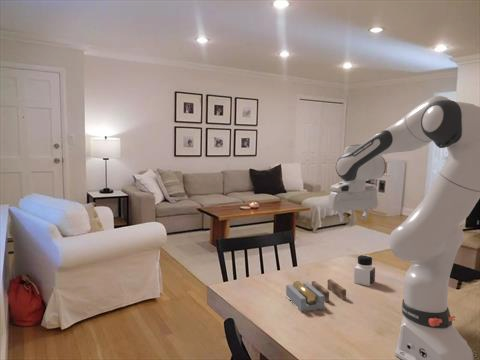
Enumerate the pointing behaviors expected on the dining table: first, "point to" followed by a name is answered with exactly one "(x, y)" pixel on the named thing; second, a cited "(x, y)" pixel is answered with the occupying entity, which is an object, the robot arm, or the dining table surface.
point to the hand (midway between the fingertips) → (353, 220)
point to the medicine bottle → (364, 271)
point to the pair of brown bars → (332, 287)
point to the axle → (305, 292)
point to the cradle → (301, 300)
